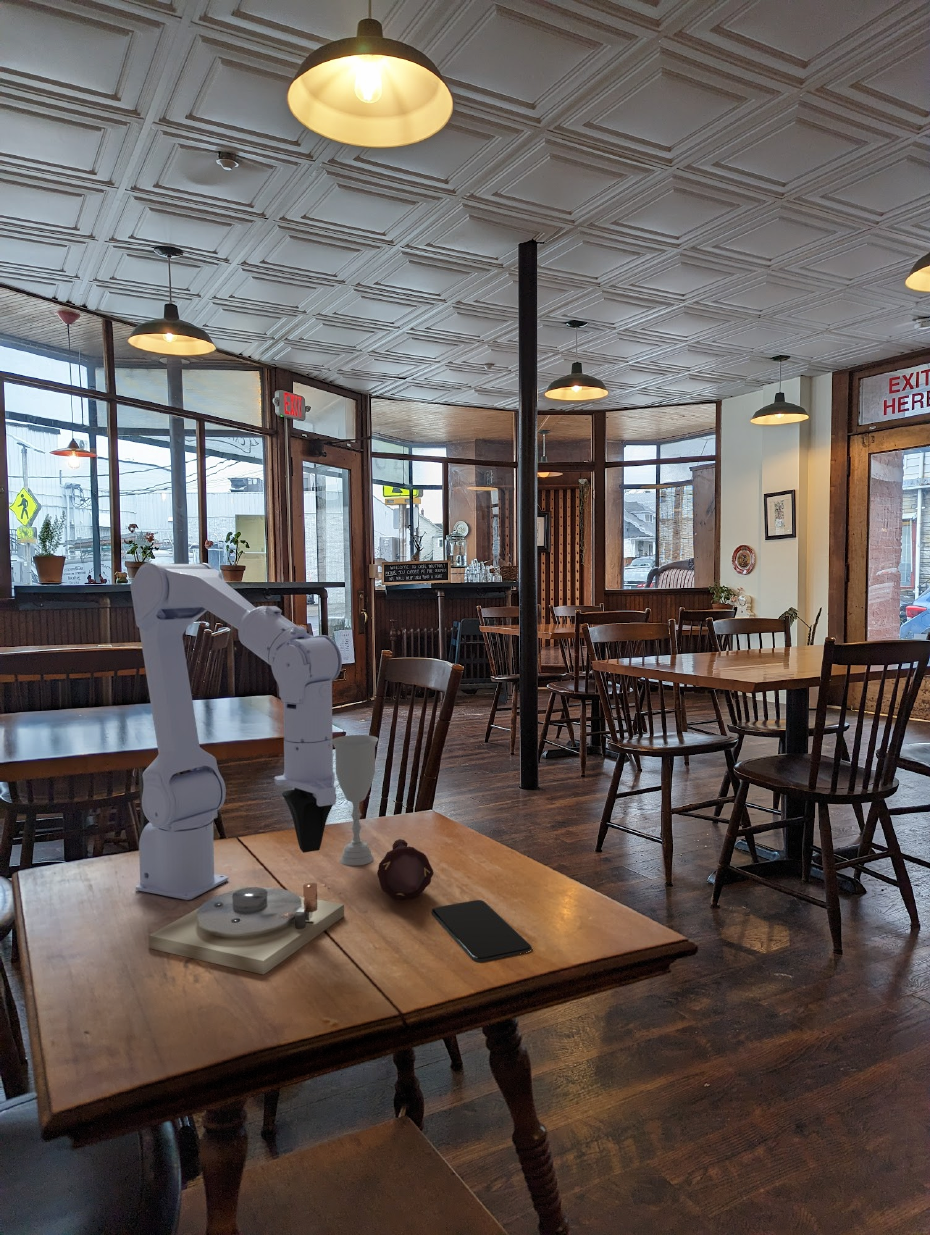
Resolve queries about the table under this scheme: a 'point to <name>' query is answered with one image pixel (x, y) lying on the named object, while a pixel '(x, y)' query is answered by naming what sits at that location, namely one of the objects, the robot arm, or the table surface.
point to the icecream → (404, 871)
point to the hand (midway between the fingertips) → (309, 849)
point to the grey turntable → (254, 911)
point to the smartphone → (480, 931)
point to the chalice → (355, 787)
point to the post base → (244, 939)
